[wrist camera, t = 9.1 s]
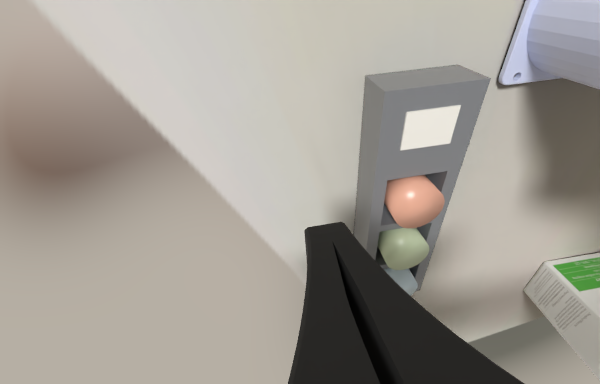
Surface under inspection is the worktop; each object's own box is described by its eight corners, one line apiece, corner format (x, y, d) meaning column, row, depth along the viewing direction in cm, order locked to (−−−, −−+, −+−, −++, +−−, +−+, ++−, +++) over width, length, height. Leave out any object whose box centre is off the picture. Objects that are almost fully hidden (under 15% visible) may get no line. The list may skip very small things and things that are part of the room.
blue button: (405, 249, 27) (421, 275, 24) (399, 271, 29) (413, 298, 26) (369, 255, 26) (381, 282, 24) (366, 278, 28) (377, 305, 26)
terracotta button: (426, 161, 21) (450, 185, 18) (417, 198, 23) (437, 224, 21) (380, 168, 20) (398, 193, 18) (375, 205, 23) (391, 232, 20)
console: (457, 64, 18) (492, 78, 15) (405, 265, 30) (420, 291, 28) (365, 75, 17) (385, 92, 15) (350, 275, 30) (360, 302, 27)
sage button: (414, 210, 24) (433, 236, 21) (407, 239, 26) (424, 266, 23) (374, 217, 23) (389, 244, 21) (370, 245, 26) (383, 273, 23)
